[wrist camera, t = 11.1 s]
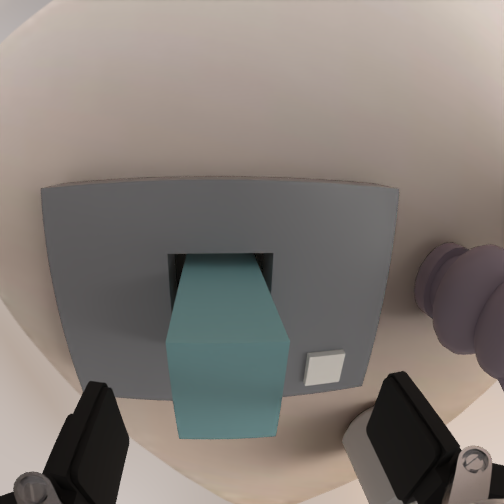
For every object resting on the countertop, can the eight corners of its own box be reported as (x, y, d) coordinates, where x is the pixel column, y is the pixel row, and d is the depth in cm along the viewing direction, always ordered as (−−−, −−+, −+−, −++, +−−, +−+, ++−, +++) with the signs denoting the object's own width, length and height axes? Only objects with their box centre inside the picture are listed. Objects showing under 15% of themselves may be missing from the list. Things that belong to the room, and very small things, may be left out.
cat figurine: (454, 208, 20) (578, 254, 9) (484, 268, 22) (579, 323, 11) (387, 289, 21) (494, 385, 10) (428, 337, 24) (510, 420, 12)
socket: (375, 183, 19) (404, 190, 16) (347, 362, 23) (364, 390, 20) (63, 183, 16) (36, 189, 13) (95, 368, 20) (81, 397, 17)
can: (415, 408, 27) (469, 484, 15) (365, 450, 28) (403, 530, 16) (382, 387, 25) (445, 482, 13) (324, 436, 26) (364, 534, 14)
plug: (252, 251, 19) (290, 341, 10) (248, 322, 21) (275, 436, 11) (187, 250, 19) (165, 342, 9) (189, 322, 20) (179, 438, 11)
